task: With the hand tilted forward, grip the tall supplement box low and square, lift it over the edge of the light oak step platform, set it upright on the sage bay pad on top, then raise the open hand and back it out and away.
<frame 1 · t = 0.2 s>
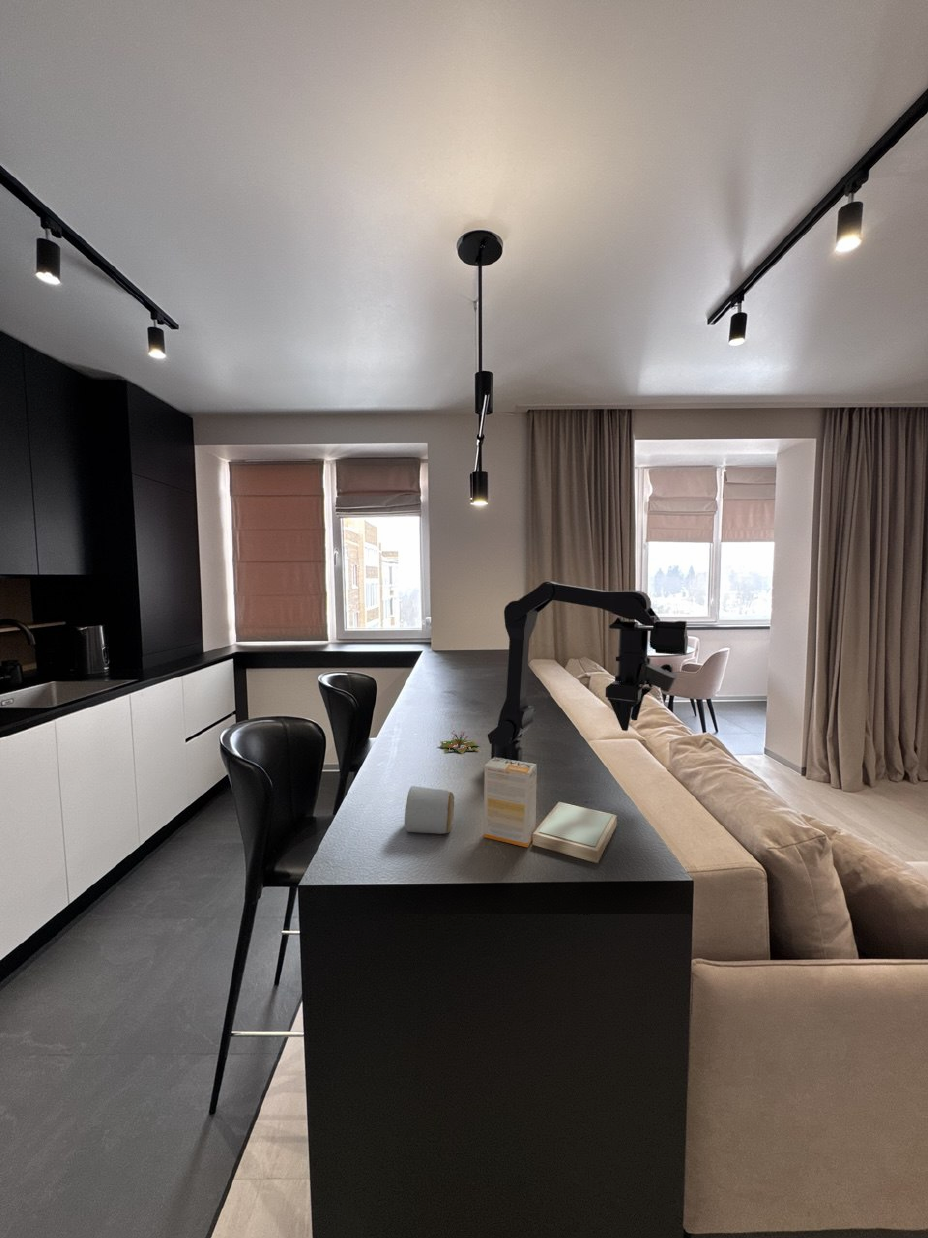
hand: (629, 725, 107), 15 cm above the table, tool pointing down, fingers open, 9 cm apart
lily flower: (459, 749, 135), on the table
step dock: (576, 835, 90), on the table
ceramic mug: (429, 827, 93), on the table
supplement box: (509, 838, 89), on the table
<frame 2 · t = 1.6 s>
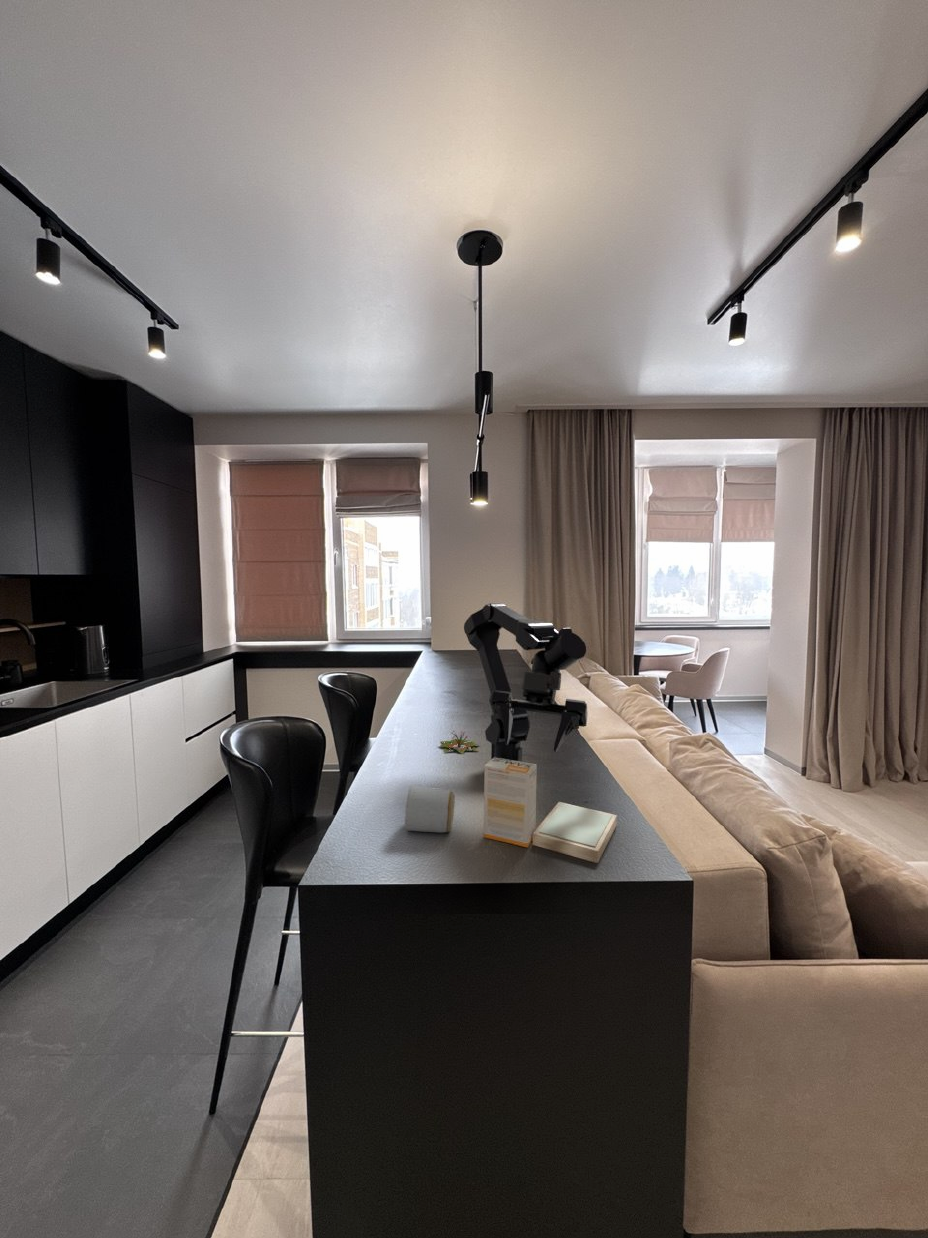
hand: (530, 748, 96), 13 cm above the table, tool tilted 45°, fingers open, 9 cm apart
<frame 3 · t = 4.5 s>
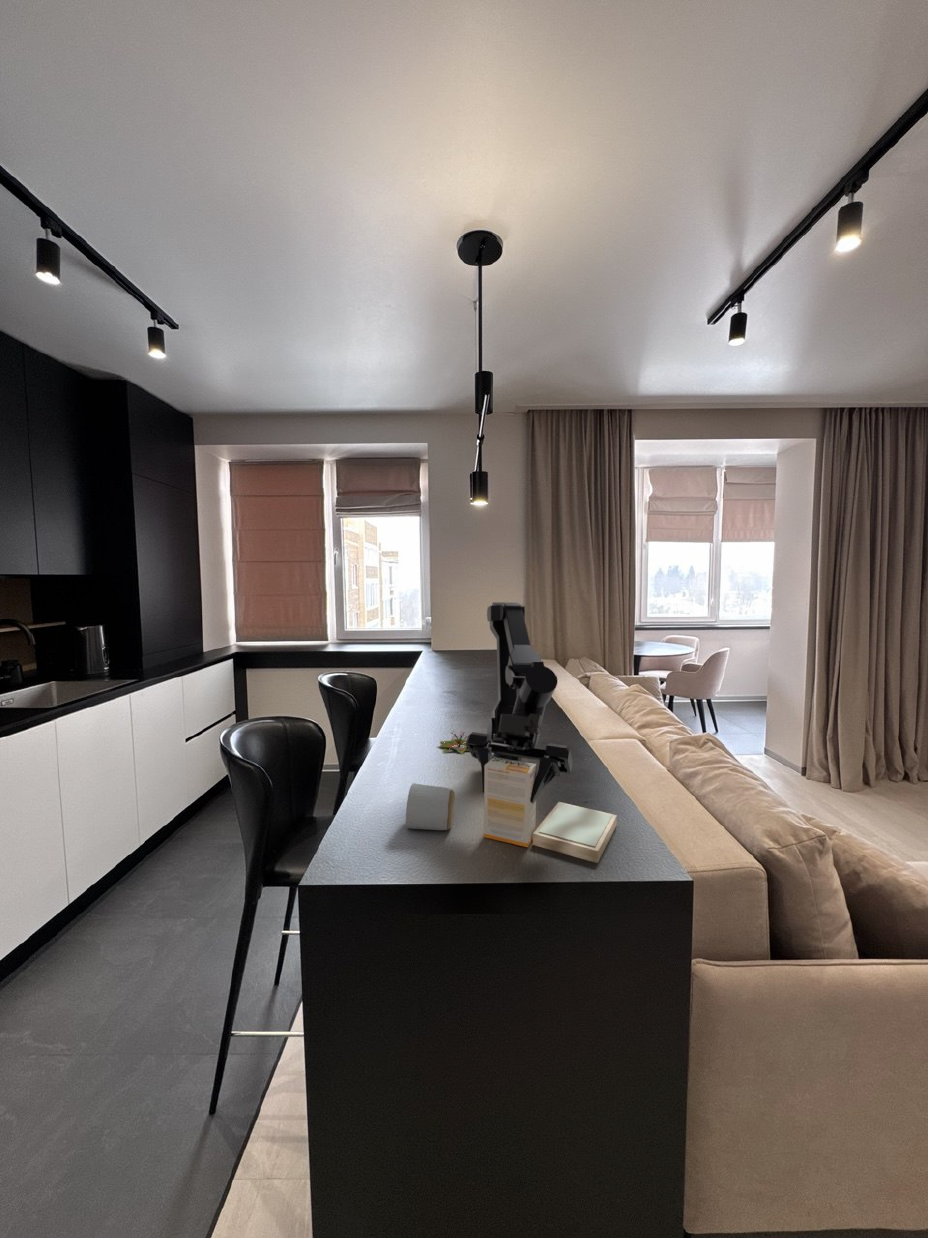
hand: (507, 797, 87), 8 cm above the table, tool tilted 45°, fingers closed on supplement box, 8 cm apart
supplement box: (509, 837, 89), on the table, touching gripper
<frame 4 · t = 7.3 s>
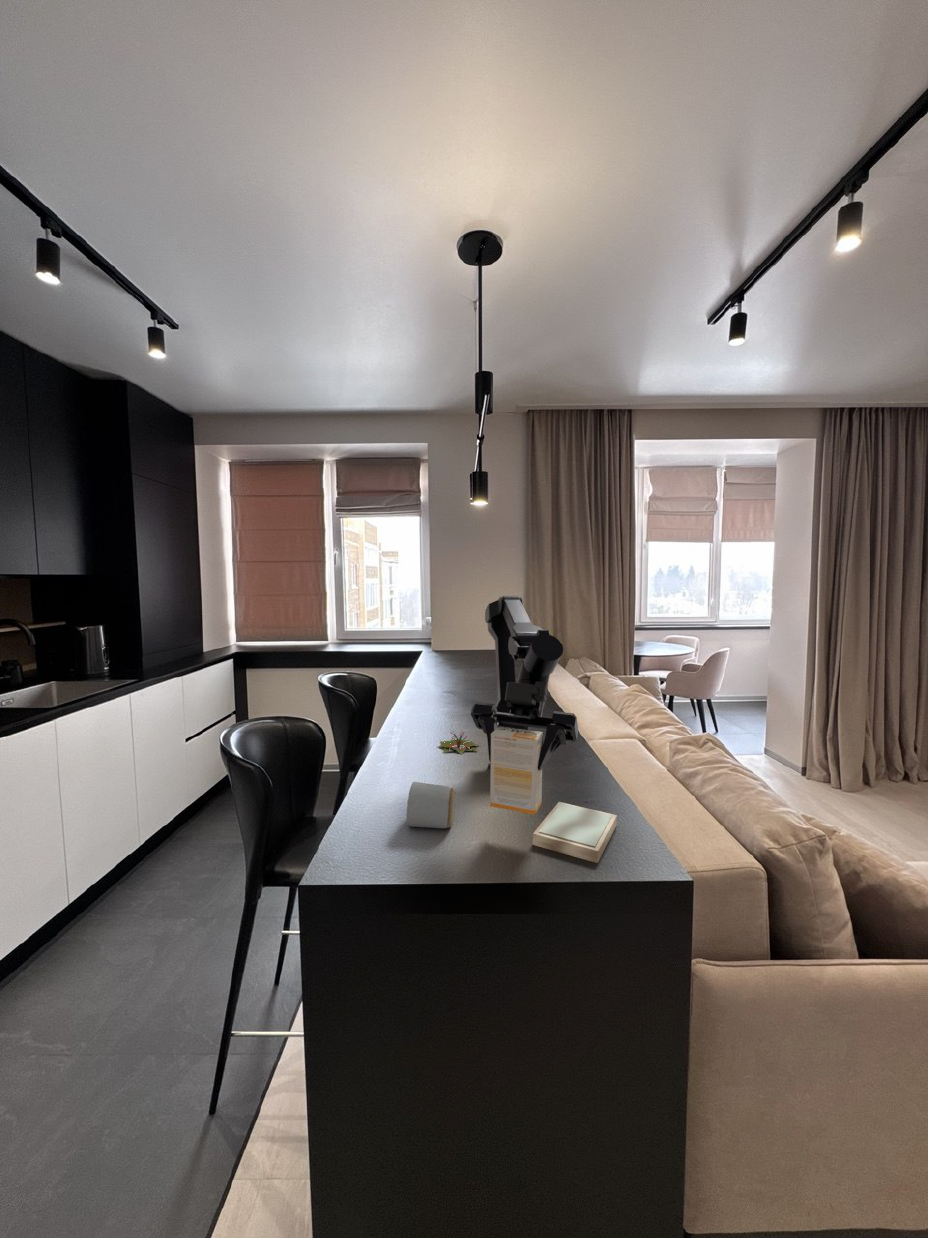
hand: (514, 765, 87), 13 cm above the table, tool tilted 45°, fingers closed on supplement box, 8 cm apart
supplement box: (515, 806, 89), point 5 cm above the table, touching gripper
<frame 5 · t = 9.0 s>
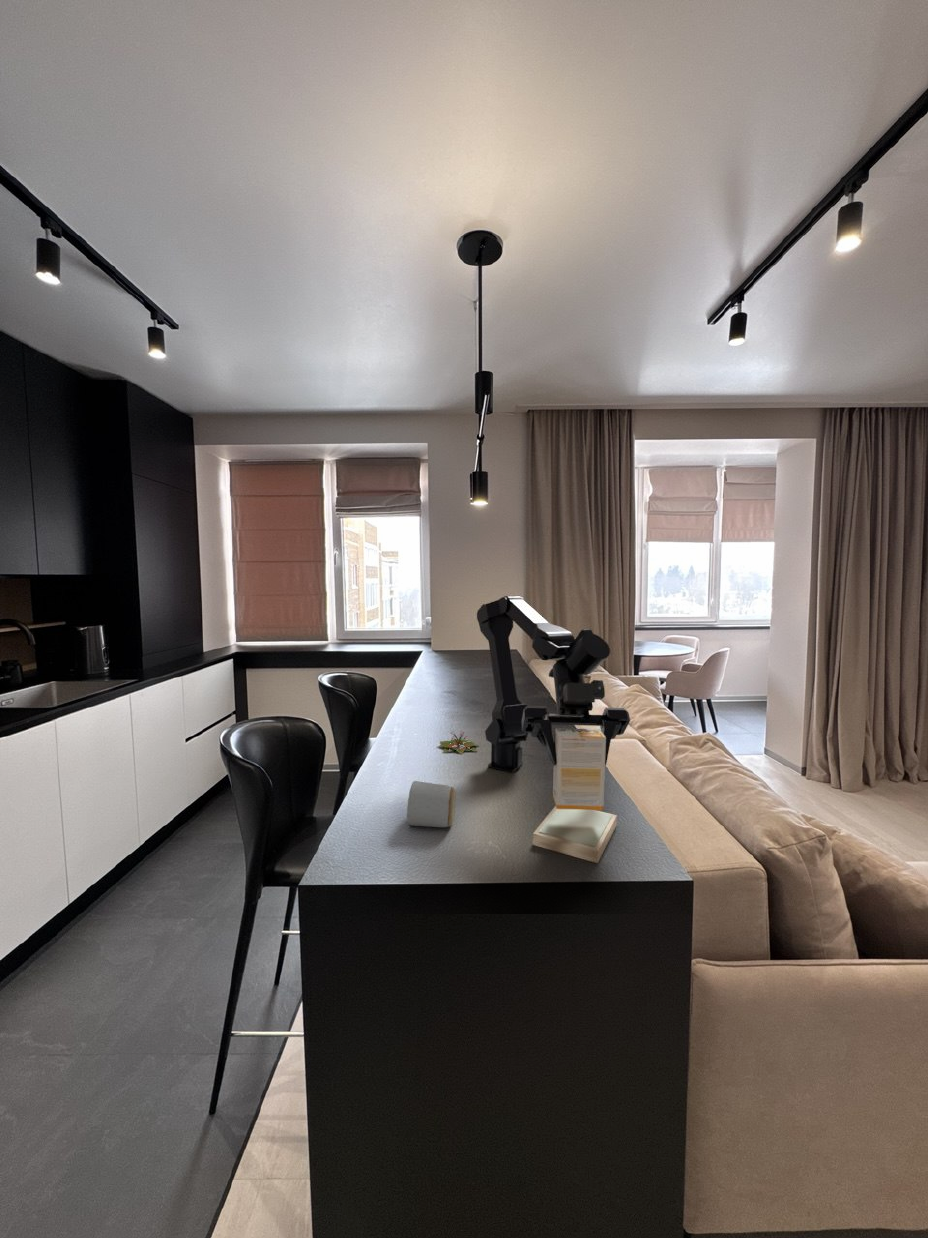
hand: (579, 765, 88), 13 cm above the table, tool tilted 45°, fingers closed on supplement box, 8 cm apart
supplement box: (576, 805, 90), point 5 cm above the table, touching gripper
when the fingers open (10 cm above the table, at t = 10.4 s): supplement box stays where it is, resting on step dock.
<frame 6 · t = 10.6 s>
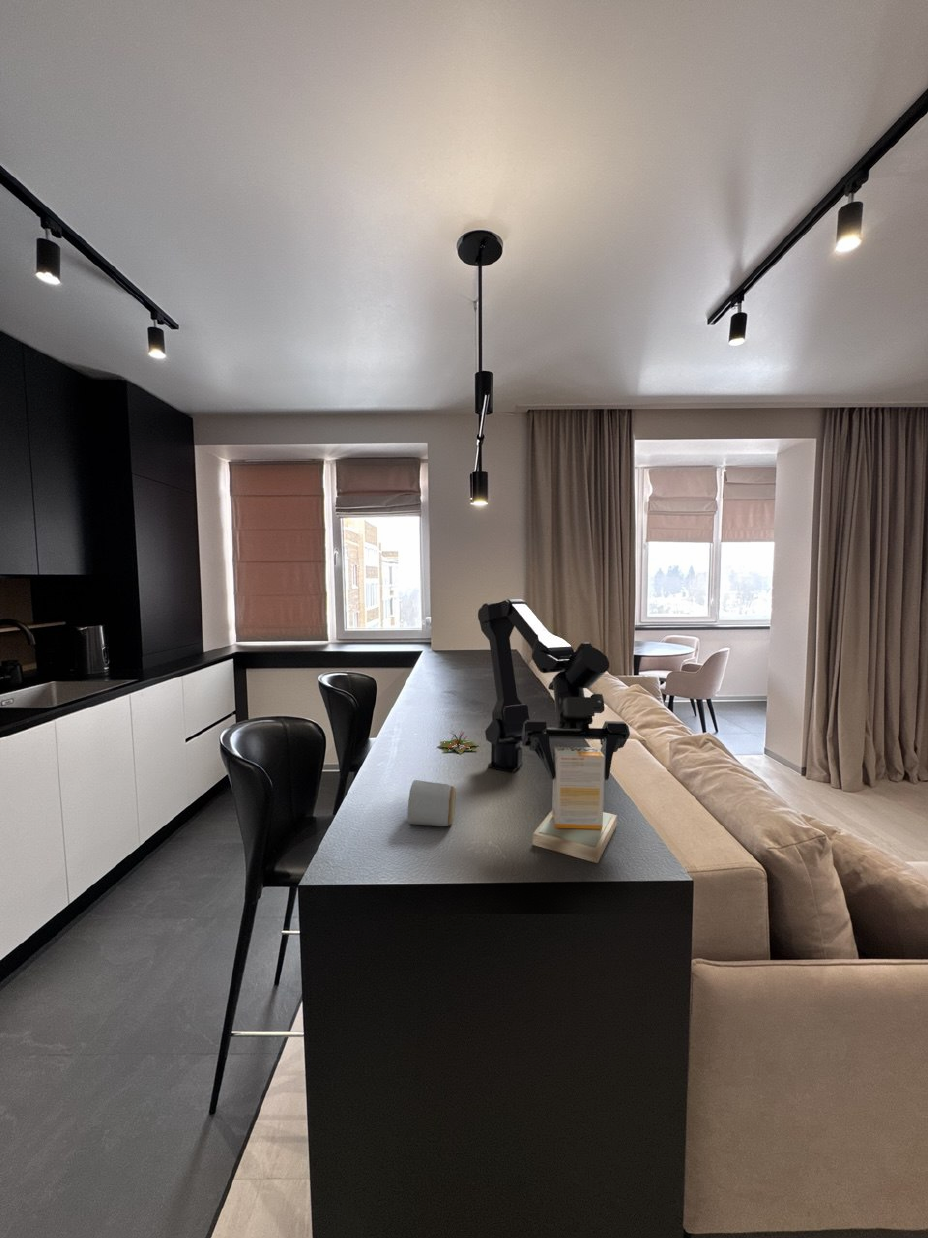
hand: (580, 779, 88), 11 cm above the table, tool tilted 45°, fingers open, 9 cm apart
supplement box: (576, 824, 90), point 2 cm above the table, touching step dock
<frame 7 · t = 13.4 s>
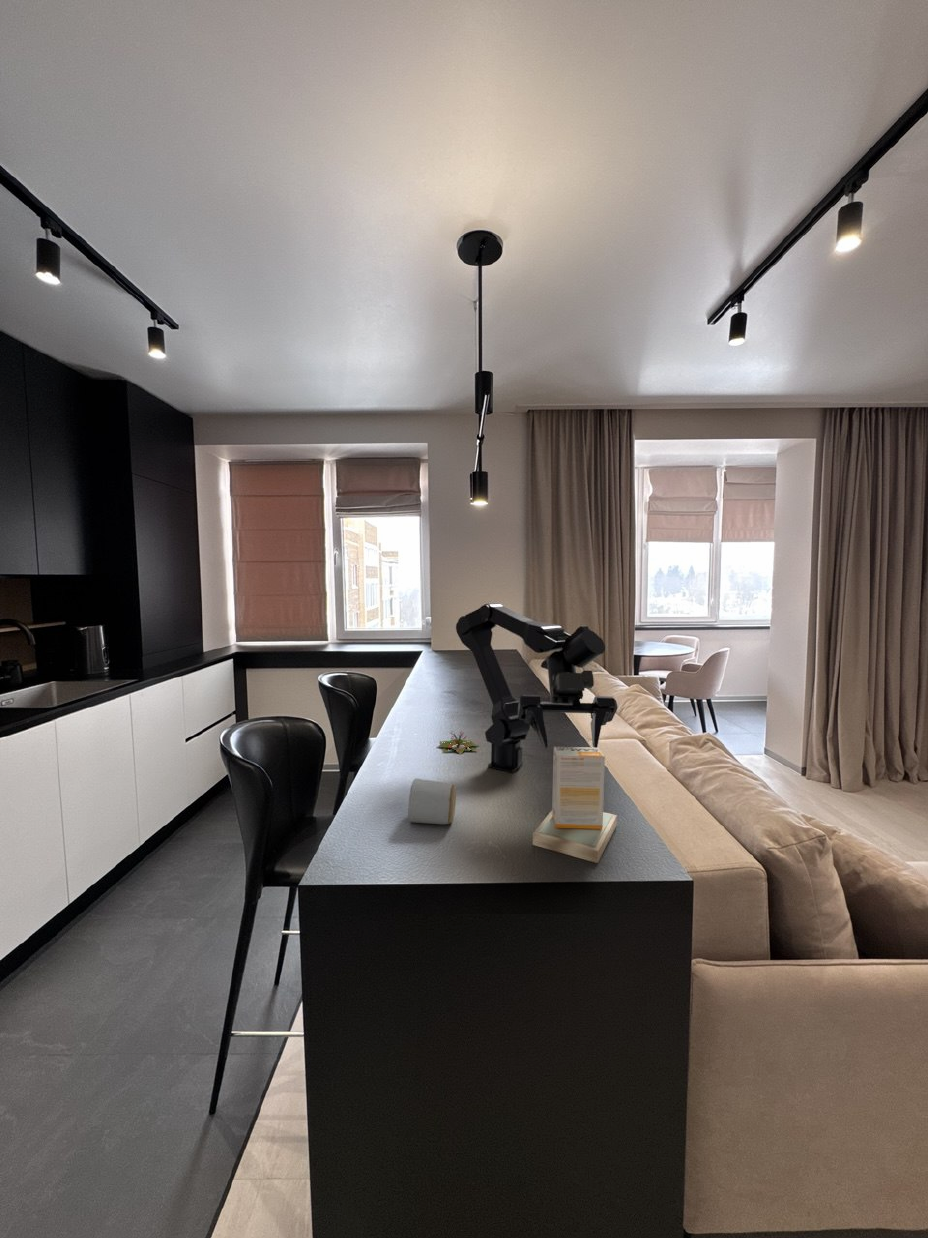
hand: (570, 748, 95), 13 cm above the table, tool tilted 45°, fingers open, 9 cm apart
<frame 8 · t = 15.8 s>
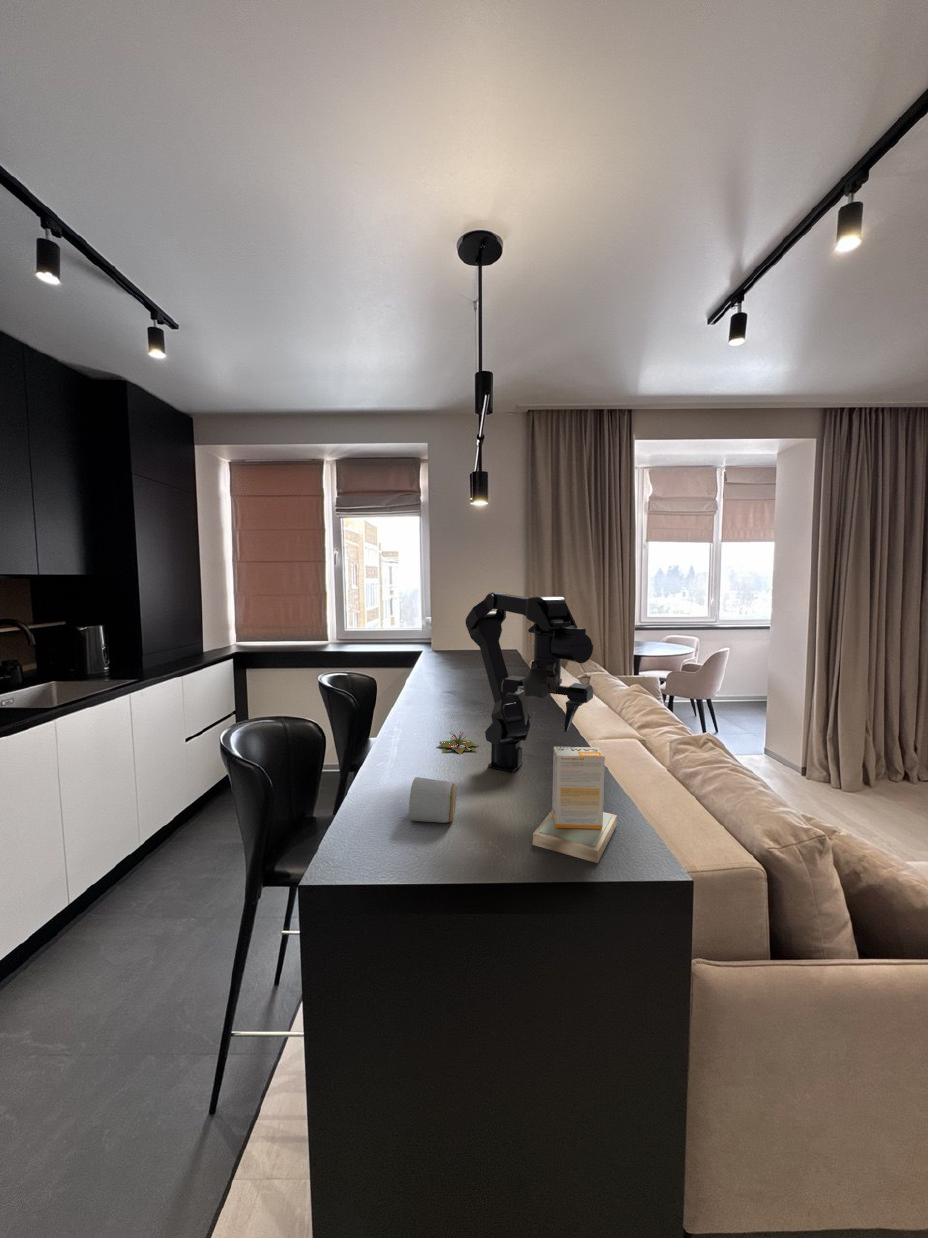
hand: (545, 728, 109), 13 cm above the table, tool pointing down, fingers open, 9 cm apart
at the end: supplement box inside the target area (0.1 cm from its centre), point 2.0 cm above the table; supplement box tilted 0°; the gripper is holding nothing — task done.
